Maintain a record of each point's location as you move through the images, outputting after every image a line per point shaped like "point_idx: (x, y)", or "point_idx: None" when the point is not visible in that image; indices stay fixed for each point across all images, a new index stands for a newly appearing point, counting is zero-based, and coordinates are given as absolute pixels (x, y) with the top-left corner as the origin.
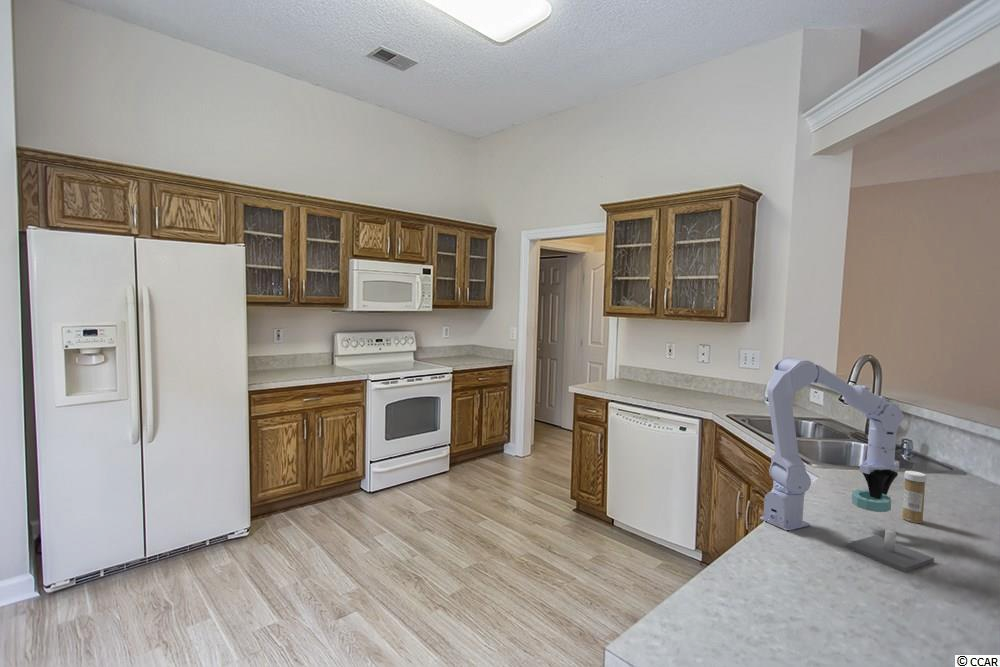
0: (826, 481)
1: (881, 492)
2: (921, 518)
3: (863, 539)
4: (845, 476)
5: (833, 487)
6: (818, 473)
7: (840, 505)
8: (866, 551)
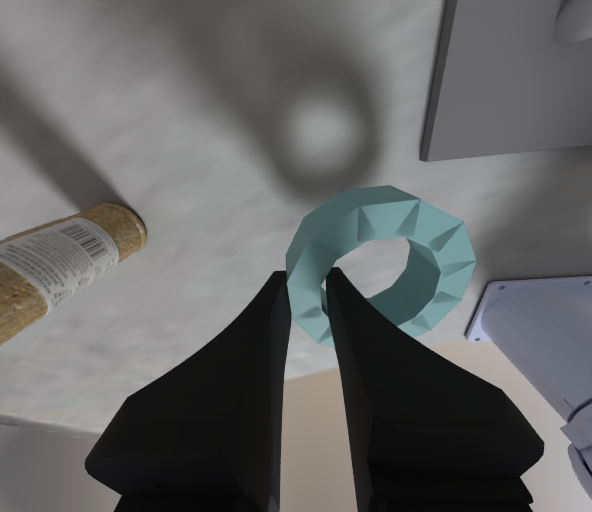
0: None
1: (341, 285)
2: (95, 208)
3: (520, 147)
4: (84, 409)
5: None
6: None
7: None
8: None
